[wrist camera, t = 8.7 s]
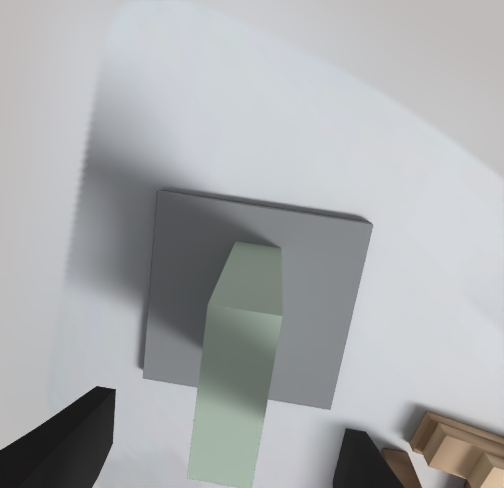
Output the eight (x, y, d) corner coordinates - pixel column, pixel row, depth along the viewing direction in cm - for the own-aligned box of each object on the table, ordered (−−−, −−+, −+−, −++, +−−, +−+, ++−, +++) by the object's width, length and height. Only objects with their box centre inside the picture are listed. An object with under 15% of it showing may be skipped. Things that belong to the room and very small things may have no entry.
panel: (219, 359, 22) (186, 478, 14) (235, 241, 20) (207, 304, 12) (261, 366, 22) (251, 489, 14) (281, 248, 20) (282, 316, 12)
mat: (146, 372, 23) (142, 378, 23) (160, 190, 20) (157, 191, 20) (329, 402, 23) (330, 409, 22) (370, 222, 20) (373, 224, 19)
